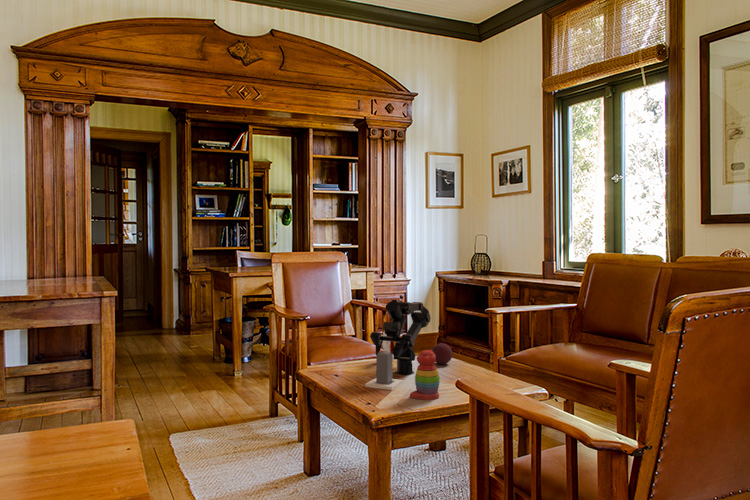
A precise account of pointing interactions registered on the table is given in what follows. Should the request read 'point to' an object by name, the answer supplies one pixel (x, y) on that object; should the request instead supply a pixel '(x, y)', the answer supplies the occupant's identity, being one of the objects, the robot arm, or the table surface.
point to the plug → (384, 368)
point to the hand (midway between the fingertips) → (386, 356)
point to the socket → (392, 386)
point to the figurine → (387, 346)
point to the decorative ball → (442, 353)
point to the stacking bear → (426, 377)
